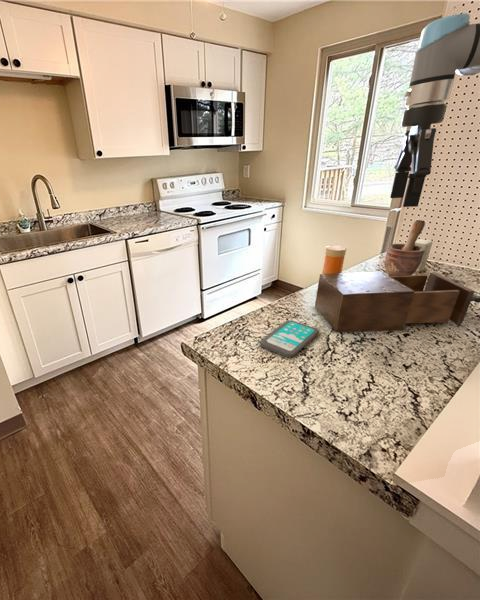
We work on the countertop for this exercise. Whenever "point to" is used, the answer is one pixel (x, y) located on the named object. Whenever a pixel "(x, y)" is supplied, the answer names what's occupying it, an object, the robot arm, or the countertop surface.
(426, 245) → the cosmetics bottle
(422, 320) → the drawer
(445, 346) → the countertop surface
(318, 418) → the countertop surface
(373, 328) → the cabinet
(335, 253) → the spice jar
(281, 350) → the smartphone
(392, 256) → the mortar and pestle
